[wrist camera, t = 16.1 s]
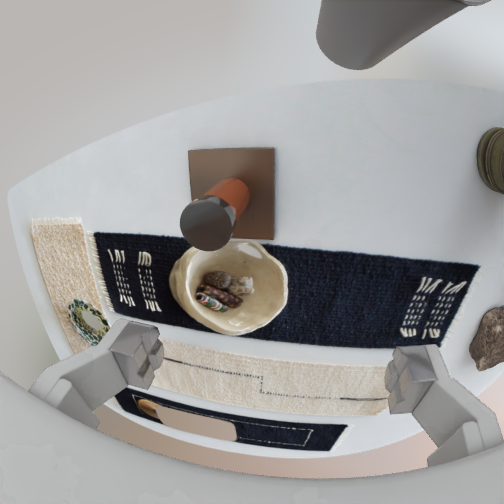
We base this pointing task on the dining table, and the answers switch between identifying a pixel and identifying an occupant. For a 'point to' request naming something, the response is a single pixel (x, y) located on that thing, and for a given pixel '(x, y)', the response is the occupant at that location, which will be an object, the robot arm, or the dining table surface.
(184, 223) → the spice jar
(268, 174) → the board
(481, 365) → the stone
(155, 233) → the dining table surface
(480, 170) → the container
